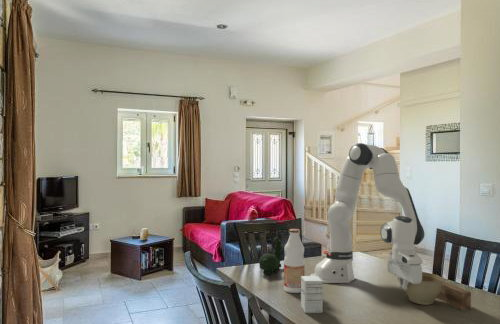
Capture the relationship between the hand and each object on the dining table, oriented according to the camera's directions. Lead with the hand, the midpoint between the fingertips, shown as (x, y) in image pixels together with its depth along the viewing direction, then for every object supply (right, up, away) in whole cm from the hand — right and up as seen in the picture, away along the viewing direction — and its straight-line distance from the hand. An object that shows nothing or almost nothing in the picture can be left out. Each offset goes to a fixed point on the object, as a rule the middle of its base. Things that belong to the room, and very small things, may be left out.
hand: (403, 288), depth 169 cm
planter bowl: (+9, -7, +2) cm, 11 cm away
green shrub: (-53, -6, +47) cm, 71 cm away
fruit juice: (-44, -6, +16) cm, 48 cm away
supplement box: (-40, -6, -8) cm, 41 cm away
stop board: (+20, -6, +5) cm, 22 cm away
